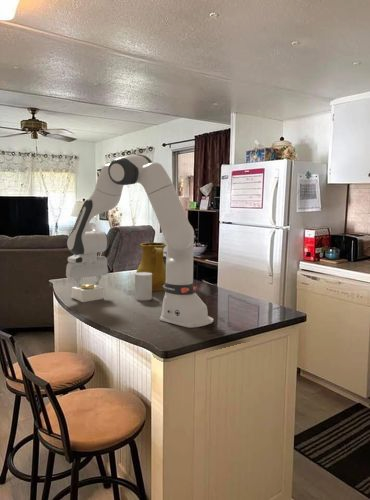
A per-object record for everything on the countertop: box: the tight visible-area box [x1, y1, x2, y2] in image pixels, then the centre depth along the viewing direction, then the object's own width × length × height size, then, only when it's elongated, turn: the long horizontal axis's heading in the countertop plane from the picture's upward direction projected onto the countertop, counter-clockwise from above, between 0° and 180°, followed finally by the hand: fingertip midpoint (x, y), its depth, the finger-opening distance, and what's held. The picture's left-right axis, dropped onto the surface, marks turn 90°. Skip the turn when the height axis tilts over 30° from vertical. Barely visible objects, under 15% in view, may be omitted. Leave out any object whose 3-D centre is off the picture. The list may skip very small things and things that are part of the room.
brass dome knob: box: [81, 283, 95, 290], centre depth 188 cm, size 6×6×6 cm
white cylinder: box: [134, 272, 153, 301], centre depth 190 cm, size 8×8×12 cm
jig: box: [71, 284, 105, 303], centre depth 188 cm, size 11×11×5 cm
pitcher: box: [135, 241, 167, 292], centre depth 208 cm, size 17×19×25 cm
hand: (87, 286), depth 188 cm, fingers open, 8 cm apart
